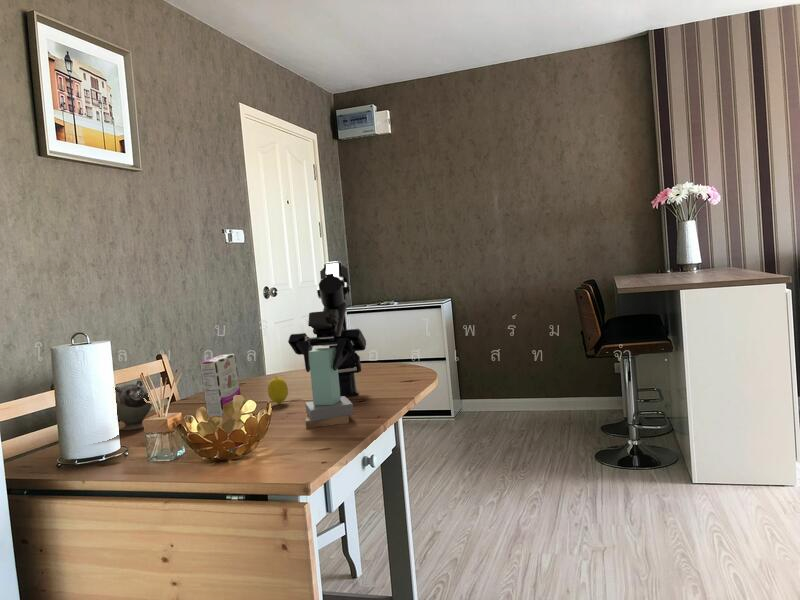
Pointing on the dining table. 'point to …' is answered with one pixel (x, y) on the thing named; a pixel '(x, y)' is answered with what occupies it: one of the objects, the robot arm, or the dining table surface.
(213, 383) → the candy bar box
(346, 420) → the bottom slab
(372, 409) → the dining table surface
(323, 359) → the pillar
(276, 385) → the lemon
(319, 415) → the top slab
